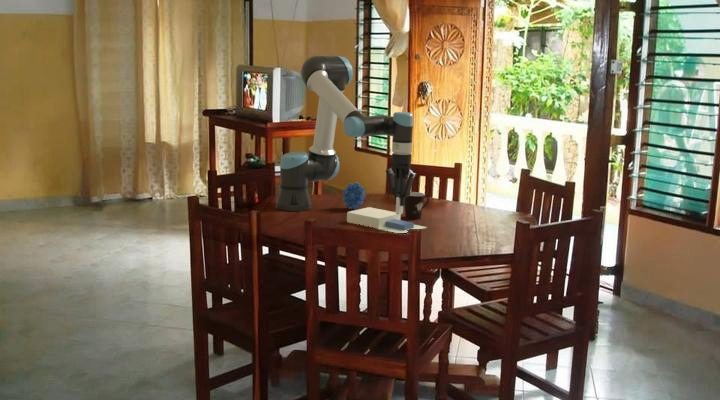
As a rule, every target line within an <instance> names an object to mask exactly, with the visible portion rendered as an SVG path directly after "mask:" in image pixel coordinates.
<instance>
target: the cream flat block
mask: <svg viewBox="0 0 720 400" xmlns="http://www.w3.org/2000/svg"><path fill="white" fill-rule="evenodd" d="M401 215H402V214H399V215H398V214H396V211H391V210H385V209H379V208H375V207H371V206H369V207H368V206H367V207H364V208H363V207H362V208H359V209H355V210H351V211H350V210H349V211H347V212H346V222H347V223H349V224H353V225H354V224H355V225H359V224H360V226H363V225H364V226H363V227H368V226H369V228H372V227H373V228H372V229H377V230H378V228H381V227H385V226H386V221H390V220H394V219H397V220H401V218H402V217H401Z"/></svg>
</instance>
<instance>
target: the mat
mask: <svg viewBox="0 0 720 400" xmlns="http://www.w3.org/2000/svg"><path fill="white" fill-rule="evenodd" d="M427 227H428V226H423V225H418V224H414V228H412V229H421V230H425V229H427ZM377 230H379V231H383V232H384V231H385V232H387V231H388V233H392V232H393V234H397V233H407V232H408V231H407V230H400V229H395V228H391V227H386V226H385V227H381V228H378V229H377ZM408 230H409V229H408ZM407 234H408V233H407Z"/></svg>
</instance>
